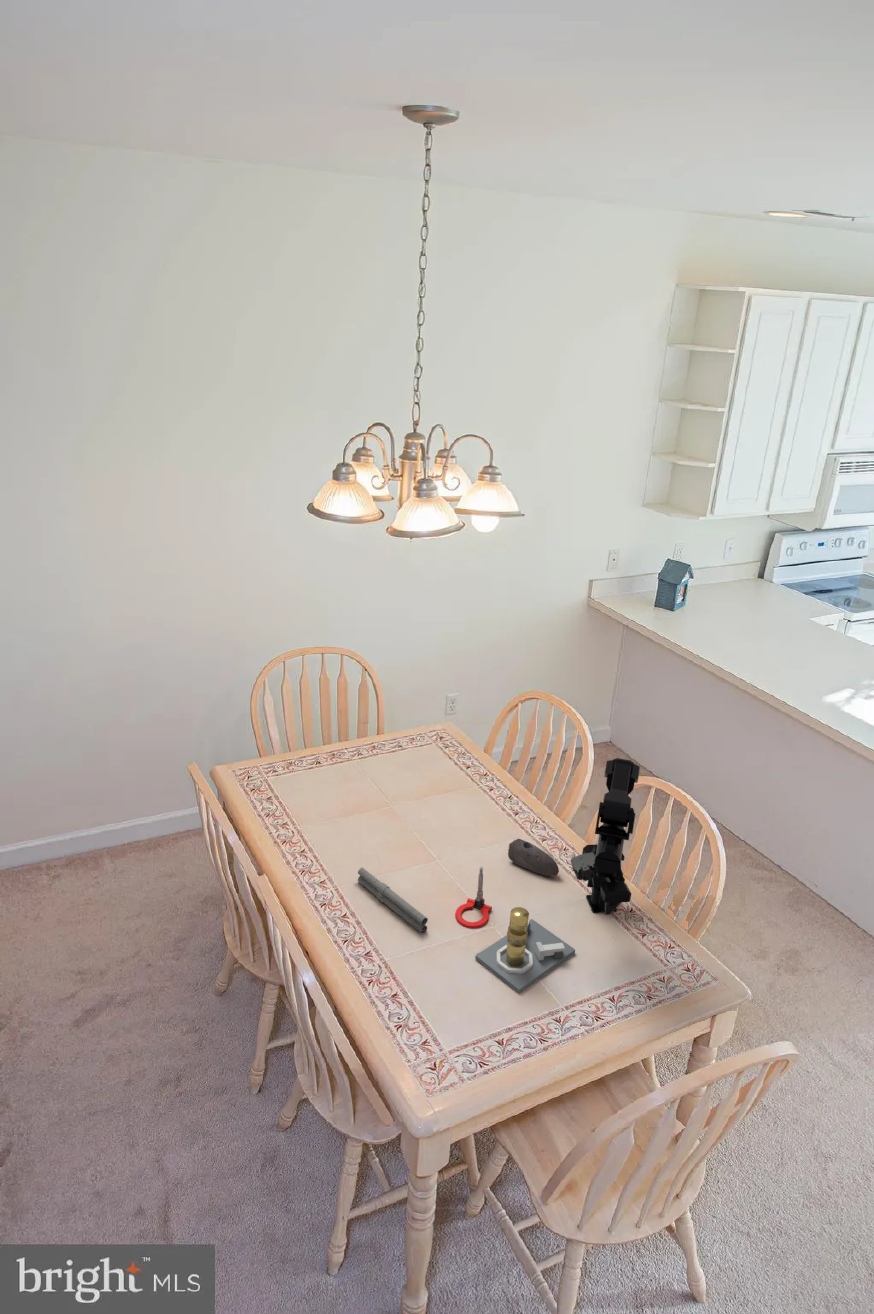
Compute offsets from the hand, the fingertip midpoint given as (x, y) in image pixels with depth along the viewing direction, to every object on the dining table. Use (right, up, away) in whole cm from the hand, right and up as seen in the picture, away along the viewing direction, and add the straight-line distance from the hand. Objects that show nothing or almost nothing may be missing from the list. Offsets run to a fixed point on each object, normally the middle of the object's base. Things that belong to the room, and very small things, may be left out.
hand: (601, 901), depth 209 cm
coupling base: (-18, -13, 0) cm, 23 cm away
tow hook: (-30, -7, +12) cm, 34 cm away
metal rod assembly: (-51, -6, +15) cm, 54 cm away
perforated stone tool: (-13, 0, +31) cm, 34 cm away
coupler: (-21, -13, -3) cm, 25 cm away
